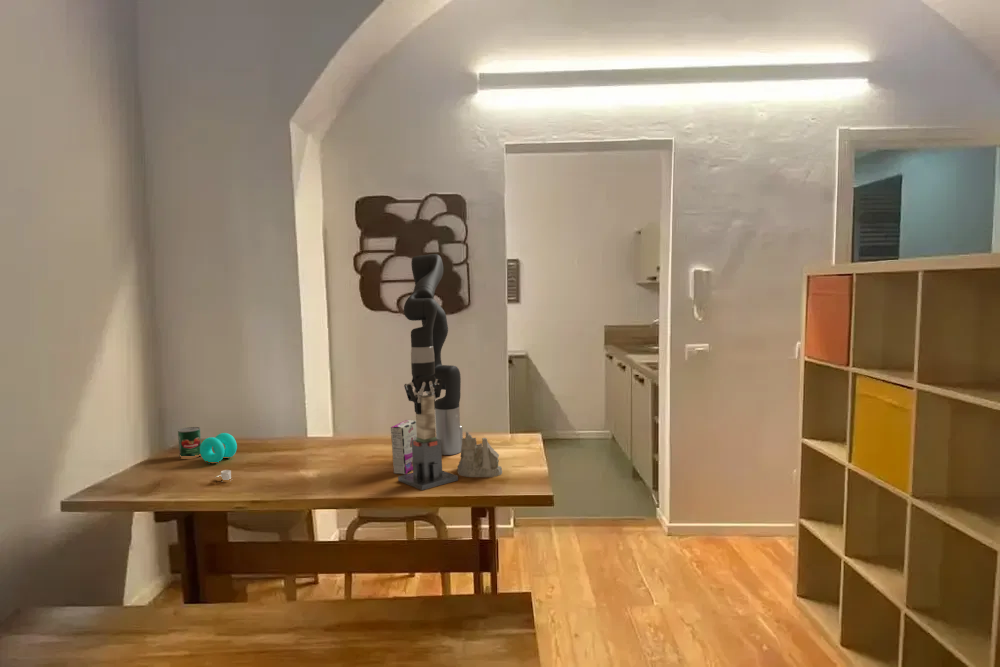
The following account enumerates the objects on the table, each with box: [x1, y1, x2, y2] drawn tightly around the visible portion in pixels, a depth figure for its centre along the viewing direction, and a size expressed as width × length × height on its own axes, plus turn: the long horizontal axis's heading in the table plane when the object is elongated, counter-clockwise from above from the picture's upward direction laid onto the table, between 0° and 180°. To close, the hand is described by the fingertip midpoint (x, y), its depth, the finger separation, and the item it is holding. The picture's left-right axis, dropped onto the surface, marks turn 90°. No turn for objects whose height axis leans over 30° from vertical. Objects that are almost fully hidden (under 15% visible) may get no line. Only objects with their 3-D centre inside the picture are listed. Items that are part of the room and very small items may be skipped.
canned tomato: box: [177, 426, 202, 456], centre depth 254 cm, size 8×8×11 cm
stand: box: [397, 439, 459, 491], centre depth 213 cm, size 14×14×14 cm
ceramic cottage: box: [456, 431, 503, 478], centre depth 224 cm, size 16×16×15 cm
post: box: [415, 394, 436, 443], centre depth 213 cm, size 5×5×20 cm
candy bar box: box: [390, 419, 417, 475], centre depth 227 cm, size 11×5×16 cm, turn 160°
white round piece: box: [215, 469, 232, 480], centre depth 220 cm, size 9×8×4 cm
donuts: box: [200, 432, 238, 463], centre depth 247 cm, size 10×10×10 cm
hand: (425, 412), depth 212 cm, fingers closed on post, 4 cm apart
